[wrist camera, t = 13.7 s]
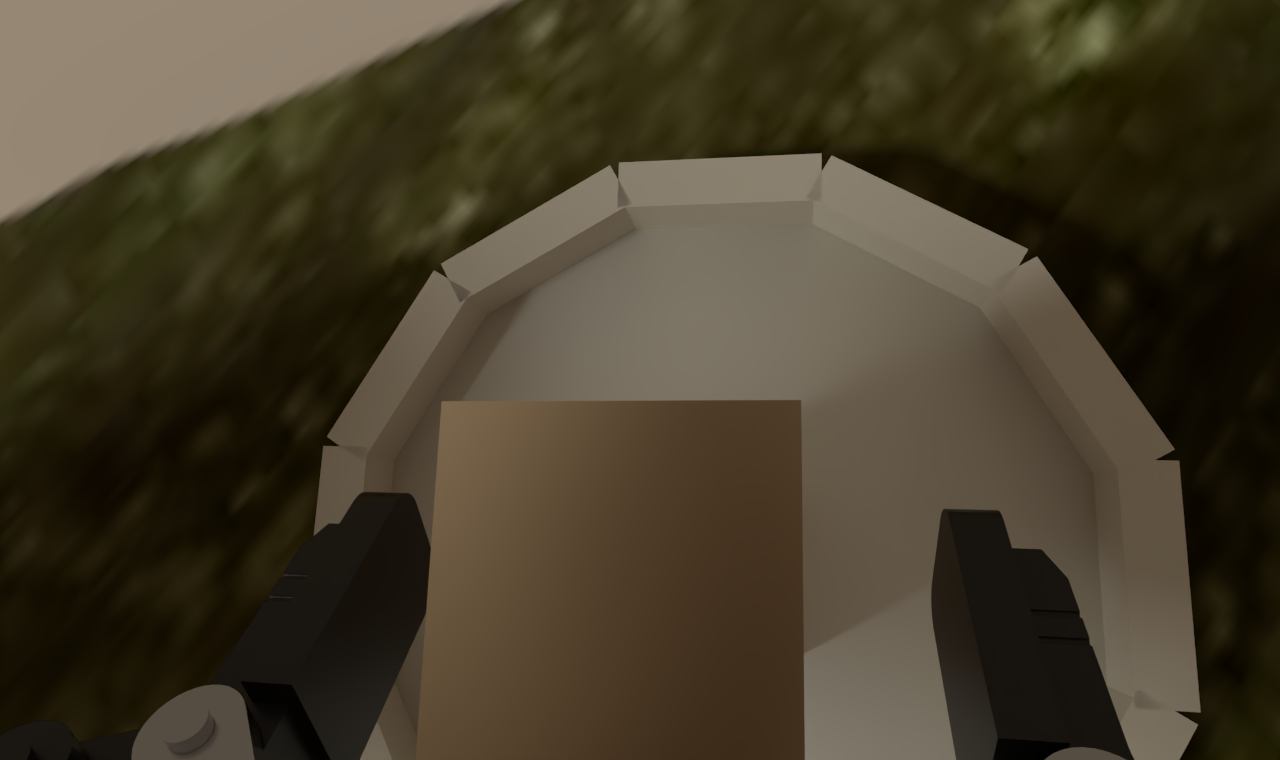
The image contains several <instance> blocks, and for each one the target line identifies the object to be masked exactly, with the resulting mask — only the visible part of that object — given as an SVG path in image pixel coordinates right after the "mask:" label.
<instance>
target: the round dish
mask: <svg viewBox="0 0 1280 760" xmlns="http://www.w3.org/2000/svg"><path fill="white" fill-rule="evenodd" d="M1027 251H1028V249H1027V248H1025V247H1023V246H1021V245H1019V244H1017V243H1014V242H1012V241H1010V240H1008V239H1006V238H1004V237H1002V236H1000V235H998V234H996V233H993V232H991V231H989V230H987V229H985V228H983V227H981V226H979V225H977V224H975V223H972V222H970V221H968V220H966V219H964V218H962V217H960V216H958V215H956V214H954V213H952V212H949V211H947V210H945V209H943V208H941V207H939V206H937V205H935V204H933V203H931V202H928V201H926V200H924V199H922V198H920V197H918V196H916V195H914V194H912V193H910V192H907V191H905V190H903V189H901V188H899V187H897V186H895V185H893V184H891V183H889V182H887V181H884V180H882V179H880V178H878V177H876V176H874V175H872V174H870V173H868V172H866V171H863V170H861V169H859V168H857V167H855V166H853V165H851V164H849V163H847V162H845V161H842V160H840V159H838V158H836V157H834V156H832V155H831V157H830V159H829V160H828V162H827V164H826V165H825V167H824V169H823V170H822V153H818V154H796V155H774V156H752V157H731V158H709V159H687V160H666V161H644V162H622V163H619V178H617V177H616V175H615V173H614V172H613V170H612V168H611V166H608V167H606V168H605V169H603V170H601V171H599V172H598V173H596V174H594V175H593V176H591V177H589V178H587V179H586V180H584V181H582V182H581V183H579V184H577V185H575V186H574V187H572V188H570V189H569V190H567V191H565V192H563V193H562V194H560V195H558V196H557V197H555V198H553V199H551V200H550V201H548V202H546V203H544V204H543V205H541V206H539V207H538V208H536V209H534V210H532V211H531V212H529V213H527V214H526V215H524V216H522V217H520V218H519V219H517V220H515V221H514V222H512V223H510V224H508V225H507V226H505V227H503V228H502V229H500V230H498V231H496V232H495V233H493V234H491V235H489V236H488V237H486V238H484V239H483V240H481V241H479V242H477V243H476V244H474V245H472V246H471V247H469V248H467V249H465V250H464V251H462V252H460V253H459V254H457V255H455V256H453V257H452V258H450V259H448V260H447V261H445V262H443V263H441V265H442V267H443V269H444V271H445V273H446V275H447V277H448V278H446V277H444V276H443V275H441V274H439V273H438V272H436V271H433V273H432V274H431V276H430V277H429V279H428V280H427V282H426V284H425V285H424V287H423V288H422V290H421V291H420V293H419V294H418V296H417V298H416V299H415V301H414V302H413V304H412V305H411V307H410V308H409V310H408V311H407V313H406V315H405V316H404V318H403V319H402V321H401V322H400V324H399V325H398V327H397V329H396V330H395V332H394V333H393V335H392V336H391V338H390V339H389V341H388V342H387V344H386V346H385V347H384V349H383V350H382V352H381V353H380V355H379V356H378V358H377V360H376V361H375V363H374V364H373V366H372V367H371V369H370V370H369V372H368V373H367V375H366V377H365V378H364V380H363V381H362V383H361V384H360V386H359V387H358V389H357V391H356V392H355V394H354V395H353V397H352V398H351V400H350V401H349V403H348V404H347V406H346V408H345V409H344V411H343V412H342V414H341V415H340V417H339V418H338V420H337V422H336V423H335V425H334V426H333V428H332V429H331V431H330V432H329V434H328V435H327V437H328V438H329V439H331V440H332V441H334V442H335V443H337V444H338V445H339V446H323V454H322V463H321V473H320V482H319V491H318V500H317V510H316V519H315V528H314V535H315V534H317V533H318V532H319V531H320V530H321V529H323V528H324V527H325V526H326V525H327V524H328V523H332V524H339V523H340V522H341V520H342V519H343V517H344V515H345V514H346V512H347V511H348V509H349V508H350V506H351V504H352V503H353V501H354V500H355V498H356V497H357V496H358V495H359V494H361V493H362V492H390V493H409V494H411V495H412V496H413V497H414V499H415V501H416V503H417V506H418V509H419V512H420V515H421V519H422V522H423V525H424V528H425V531H426V534H427V537H428V540H429V543H430V546H431V539H432V526H433V512H434V498H435V485H436V471H437V457H438V444H439V430H440V416H441V402H442V401H667V400H801V429H802V528H803V626H804V724H805V760H956V756H955V750H954V744H953V739H952V733H951V727H950V721H949V716H948V710H947V704H946V698H945V692H944V687H943V681H942V675H941V669H940V663H939V658H938V652H937V646H936V640H935V635H934V629H933V621H932V609H931V588H932V578H933V570H934V563H935V555H936V547H937V540H938V532H939V525H940V518H941V513H942V511H943V509H974V510H998V511H1000V513H1001V514H1002V516H1003V519H1004V522H1005V526H1006V529H1007V533H1008V536H1009V539H1010V543H1011V546H1012V548H1021V549H1042V550H1043V551H1044V552H1045V554H1046V555H1047V556H1048V557H1049V558H1050V559H1051V560H1052V561H1053V562H1054V563H1055V565H1056V566H1057V567H1058V568H1059V569H1060V570H1061V571H1062V572H1063V573H1064V574H1065V576H1066V577H1067V578H1068V579H1069V582H1070V585H1071V588H1072V591H1073V593H1074V596H1075V599H1076V602H1077V604H1078V607H1079V610H1080V618H1083V621H1084V624H1085V627H1086V630H1087V632H1088V635H1089V638H1090V646H1093V649H1094V652H1095V655H1096V657H1097V660H1098V663H1099V666H1100V669H1101V671H1102V674H1103V677H1104V680H1105V683H1106V685H1107V688H1108V691H1109V694H1110V697H1111V699H1112V702H1113V705H1114V708H1115V710H1116V713H1117V716H1118V719H1119V722H1120V724H1121V727H1122V730H1123V733H1124V736H1125V738H1126V741H1127V744H1128V747H1129V749H1130V751H1131V753H1132V756H1133V758H1134V759H1135V760H1180V758H1181V756H1182V754H1183V752H1184V750H1185V748H1186V747H1187V745H1188V743H1189V741H1190V739H1191V737H1192V735H1193V734H1194V732H1195V730H1196V728H1197V726H1198V724H1196V723H1194V722H1193V721H1191V720H1189V719H1188V718H1186V717H1184V716H1183V715H1181V714H1179V713H1177V712H1176V711H1185V712H1200V713H1201V710H1200V699H1199V687H1198V675H1197V663H1196V652H1195V640H1194V628H1193V617H1192V605H1191V593H1190V581H1189V570H1188V558H1187V546H1186V535H1185V523H1184V511H1183V499H1182V488H1181V476H1180V464H1179V461H1169V460H1156V459H1158V458H1160V457H1162V456H1164V455H1165V454H1167V453H1169V452H1171V451H1173V450H1175V449H1174V447H1173V446H1172V445H1171V443H1170V442H1169V440H1168V439H1167V438H1166V436H1165V435H1164V433H1163V432H1162V431H1161V429H1160V428H1159V426H1158V425H1157V424H1156V422H1155V421H1154V419H1153V418H1152V417H1151V415H1150V414H1149V412H1148V411H1147V410H1146V408H1145V407H1144V405H1143V404H1142V403H1141V401H1140V400H1139V398H1138V397H1137V396H1136V394H1135V393H1134V391H1133V390H1132V389H1131V387H1130V386H1129V384H1128V383H1127V382H1126V380H1125V379H1124V377H1123V376H1122V375H1121V373H1120V372H1119V370H1118V369H1117V368H1116V366H1115V365H1114V363H1113V362H1112V361H1111V359H1110V358H1109V356H1108V355H1107V354H1106V352H1105V351H1104V349H1103V348H1102V347H1101V345H1100V344H1099V342H1098V341H1097V340H1096V338H1095V337H1094V335H1093V334H1092V333H1091V331H1090V330H1089V328H1088V327H1087V326H1086V324H1085V323H1084V321H1083V320H1082V319H1081V317H1080V316H1079V314H1078V313H1077V312H1076V310H1075V309H1074V307H1073V306H1072V305H1071V303H1070V302H1069V300H1068V299H1067V298H1066V296H1065V295H1064V293H1063V292H1062V291H1061V289H1060V288H1059V286H1058V285H1057V284H1056V282H1055V281H1054V279H1053V278H1052V277H1051V275H1050V274H1049V272H1048V271H1047V270H1046V268H1045V267H1044V265H1043V264H1042V263H1041V261H1040V260H1039V258H1038V257H1037V256H1036V257H1035V258H1033V259H1031V260H1029V261H1027V262H1026V263H1024V264H1022V265H1020V266H1019V264H1020V263H1021V261H1022V259H1023V258H1024V256H1025V254H1026V253H1027ZM425 622H426V614H425V617H424V619H423V621H422V623H421V626H420V628H419V630H418V632H417V634H416V637H415V639H414V641H413V643H412V645H411V648H410V650H409V652H408V654H407V656H406V659H405V661H404V663H403V665H402V667H401V670H400V672H399V674H398V676H397V679H396V681H395V683H394V685H393V687H392V690H391V692H390V694H389V696H388V698H387V701H386V703H385V705H384V707H383V709H382V712H381V714H380V716H379V718H378V720H377V723H376V725H375V727H374V729H373V732H372V734H371V736H370V738H369V740H368V743H367V745H366V747H365V749H364V751H363V754H362V756H361V758H360V760H415V759H416V745H417V731H418V718H419V704H420V690H421V677H422V663H423V649H424V635H425Z"/></svg>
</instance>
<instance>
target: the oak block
mask: <svg viewBox="0 0 1280 760" xmlns="http://www.w3.org/2000/svg"><path fill="white" fill-rule="evenodd" d="M415 760H805V724H804V626H803V528H802V429H801V400H667V401H442V402H441V416H440V430H439V444H438V457H437V471H436V485H435V498H434V512H433V526H432V539H431V553H430V567H429V581H428V594H427V608H426V622H425V635H424V649H423V663H422V677H421V690H420V704H419V718H418V731H417V745H416V759H415Z"/></svg>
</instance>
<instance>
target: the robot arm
mask: <svg viewBox="0 0 1280 760" xmlns="http://www.w3.org/2000/svg"><path fill="white" fill-rule="evenodd" d="M430 553H431V546H430V543H429V540H428V537H427V534H426V531H425V528H424V525H423V522H422V519H421V515H420V512H419V509H418V506H417V503H416V501H415V499H414V497H413V496H412V495H411V494H409V493H390V492H362V493H361V494H359V495H358V496H357V497H356V498H355V500H354V501H353V503H352V504H351V506H350V508H349V509H348V511H347V512H346V514H345V515H344V517H343V519H342V520H341V522H340V523H339V524H332V523H328V524H327V525H326V526H325V527H324V528H323V529H321V530H320V531H319V532H318V533H317V534H315V535H314V536H313V537H312V538H311V539H309V540H308V541H307V542H306V543H305V544H303V545H302V546H301V547H300V549H299V550H298V552H297V553H296V555H295V556H294V558H293V559H292V561H291V562H290V564H289V565H288V567H287V569H286V570H285V572H284V577H283V578H280V579H279V581H278V582H277V584H276V585H275V587H274V588H273V590H272V591H271V593H270V594H269V600H265V602H264V603H263V605H262V606H261V608H260V609H259V611H258V612H257V614H256V615H255V617H254V618H253V620H252V621H251V623H250V624H249V626H248V627H247V629H246V630H245V632H244V633H243V635H242V636H241V638H240V639H239V641H238V642H237V644H236V645H235V647H234V649H233V650H232V652H231V653H230V655H229V656H228V658H227V659H226V661H225V662H224V664H223V665H222V667H221V668H220V670H219V671H218V673H217V674H216V676H215V677H214V679H213V680H212V681H211V683H210V684H209V685H206V686H201V687H197V688H194V689H192V690H189V691H186V692H184V693H182V694H180V695H178V696H176V697H175V698H173V699H172V700H170V701H168V702H167V703H166V704H164V705H163V706H162V707H161V708H159V709H158V710H157V711H156V712H155V713H154V714H153V715H152V716H151V717H150V718H149V719H148V720H147V722H146V723H145V724H144V725H143V727H142V728H141V729H137V730H133V731H128V732H124V733H119V734H115V735H111V736H106V737H102V738H97V739H93V740H89V741H84V742H80V743H79V742H78V740H77V739H76V738H75V737H74V735H73V734H72V733H71V731H70V730H69V729H68V728H67V727H66V726H65V725H64V724H62V723H60V722H57V721H51V720H43V721H36V722H31V723H27V724H24V725H21V726H19V727H16V728H14V729H12V730H10V731H8V732H6V733H4V734H2V735H0V760H360V758H361V756H362V754H363V751H364V749H365V747H366V745H367V743H368V740H369V738H370V736H371V734H372V732H373V729H374V727H375V725H376V723H377V720H378V718H379V716H380V714H381V712H382V709H383V707H384V705H385V703H386V701H387V698H388V696H389V694H390V692H391V690H392V687H393V685H394V683H395V681H396V679H397V676H398V674H399V672H400V670H401V667H402V665H403V663H404V661H405V659H406V656H407V654H408V652H409V650H410V648H411V645H412V643H413V641H414V639H415V637H416V634H417V632H418V630H419V628H420V626H421V623H422V621H423V619H424V617H425V614H426V608H427V594H428V581H429V567H430ZM931 609H932V621H933V629H934V635H935V640H936V646H937V652H938V658H939V663H940V669H941V675H942V681H943V687H944V692H945V698H946V704H947V710H948V716H949V721H950V727H951V733H952V739H953V744H954V750H955V756H956V760H1135V759H1134V758H1133V756H1132V753H1131V751H1130V749H1129V747H1128V744H1127V741H1126V738H1125V736H1124V733H1123V730H1122V727H1121V724H1120V722H1119V719H1118V716H1117V713H1116V710H1115V708H1114V705H1113V702H1112V699H1111V697H1110V694H1109V691H1108V688H1107V685H1106V683H1105V680H1104V677H1103V674H1102V671H1101V669H1100V666H1099V663H1098V660H1097V657H1096V655H1095V652H1094V649H1093V646H1090V638H1089V635H1088V632H1087V630H1086V627H1085V624H1084V621H1083V618H1080V610H1079V607H1078V604H1077V602H1076V599H1075V596H1074V593H1073V591H1072V588H1071V585H1070V582H1069V579H1068V578H1067V577H1066V576H1065V574H1064V573H1063V572H1062V571H1061V570H1060V569H1059V568H1058V567H1057V566H1056V565H1055V563H1054V562H1053V561H1052V560H1051V559H1050V558H1049V557H1048V556H1047V555H1046V554H1045V552H1044V551H1043V550H1042V549H1021V548H1012V546H1011V543H1010V539H1009V536H1008V533H1007V529H1006V526H1005V522H1004V519H1003V516H1002V514H1001V513H1000V511H998V510H974V509H943V511H942V513H941V518H940V525H939V532H938V540H937V547H936V555H935V563H934V570H933V578H932V588H931Z"/></svg>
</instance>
